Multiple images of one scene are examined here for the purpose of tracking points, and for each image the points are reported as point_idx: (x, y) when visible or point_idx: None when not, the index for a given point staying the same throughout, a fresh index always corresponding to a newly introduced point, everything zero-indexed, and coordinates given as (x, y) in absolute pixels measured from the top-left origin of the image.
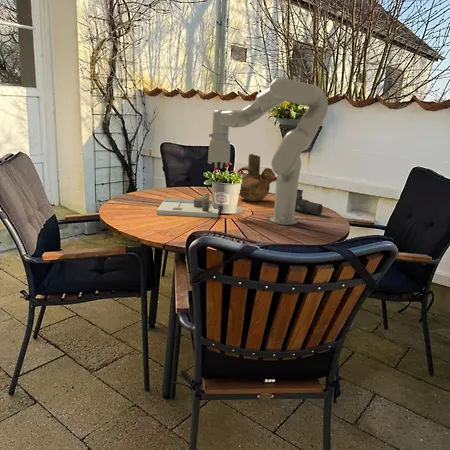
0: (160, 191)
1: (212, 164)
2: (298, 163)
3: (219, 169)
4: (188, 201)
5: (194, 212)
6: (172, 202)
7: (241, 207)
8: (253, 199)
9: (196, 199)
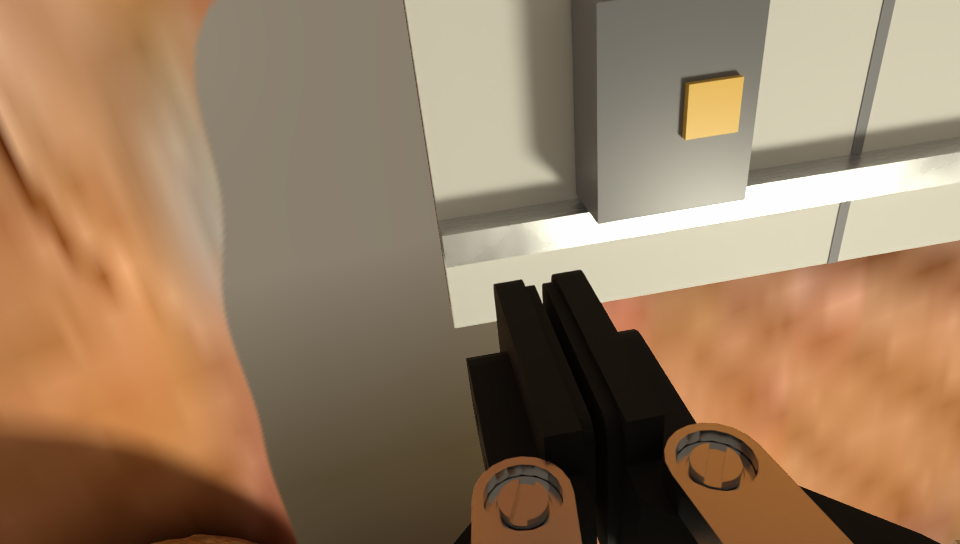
0: (946, 520)
1: (902, 533)
2: None
3: (556, 408)
4: (789, 169)
5: None
6: (952, 105)
7: (218, 323)
8: (161, 541)
9: (737, 52)
